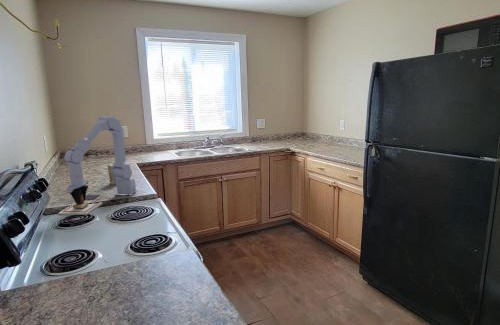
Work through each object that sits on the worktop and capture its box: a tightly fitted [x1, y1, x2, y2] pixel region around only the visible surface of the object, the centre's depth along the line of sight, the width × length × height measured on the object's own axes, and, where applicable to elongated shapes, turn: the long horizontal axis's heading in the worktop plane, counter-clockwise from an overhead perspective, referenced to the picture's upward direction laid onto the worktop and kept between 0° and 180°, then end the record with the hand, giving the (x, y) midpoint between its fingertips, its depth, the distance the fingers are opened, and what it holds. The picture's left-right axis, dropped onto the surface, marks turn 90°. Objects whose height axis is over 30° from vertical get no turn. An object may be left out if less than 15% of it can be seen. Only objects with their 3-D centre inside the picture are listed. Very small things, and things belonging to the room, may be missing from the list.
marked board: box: [57, 201, 103, 216], centre depth 152 cm, size 14×14×1 cm
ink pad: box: [85, 194, 103, 200], centre depth 165 cm, size 8×8×2 cm
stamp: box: [71, 194, 89, 209], centre depth 151 cm, size 5×5×6 cm
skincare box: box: [107, 163, 116, 185], centre depth 193 cm, size 6×4×12 cm
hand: (80, 201), depth 151 cm, fingers closed on stamp, 3 cm apart
